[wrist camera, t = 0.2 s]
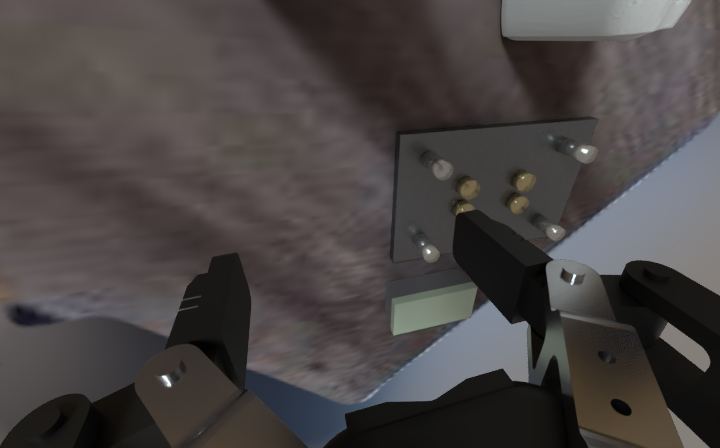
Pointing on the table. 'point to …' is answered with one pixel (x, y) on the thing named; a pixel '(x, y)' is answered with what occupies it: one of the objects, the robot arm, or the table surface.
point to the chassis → (484, 180)
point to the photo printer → (587, 19)
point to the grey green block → (429, 300)
